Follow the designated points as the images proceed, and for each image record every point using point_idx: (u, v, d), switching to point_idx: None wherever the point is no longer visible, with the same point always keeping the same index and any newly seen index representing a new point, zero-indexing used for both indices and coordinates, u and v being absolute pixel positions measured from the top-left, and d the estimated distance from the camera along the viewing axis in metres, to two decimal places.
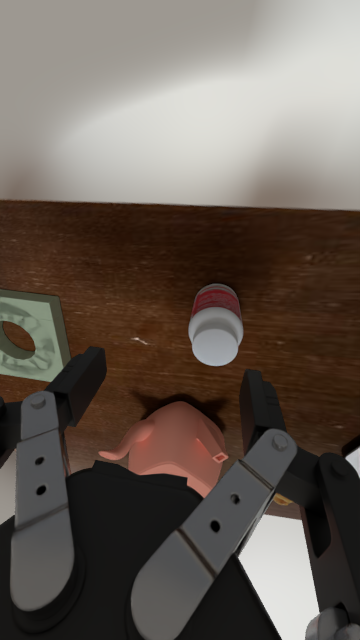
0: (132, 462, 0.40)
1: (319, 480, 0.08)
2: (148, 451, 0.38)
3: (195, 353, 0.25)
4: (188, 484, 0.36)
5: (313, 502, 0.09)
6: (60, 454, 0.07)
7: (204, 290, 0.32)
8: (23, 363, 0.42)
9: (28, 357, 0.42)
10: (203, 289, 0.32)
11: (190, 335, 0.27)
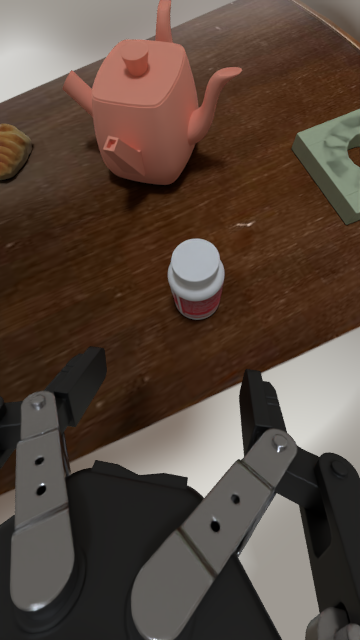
0: (191, 78, 0.33)
1: (319, 480, 0.08)
2: (183, 104, 0.31)
3: (209, 243, 0.24)
4: (122, 88, 0.30)
5: (313, 502, 0.09)
6: (60, 454, 0.07)
7: (217, 305, 0.32)
8: (353, 131, 0.36)
9: (350, 141, 0.37)
10: None
11: None
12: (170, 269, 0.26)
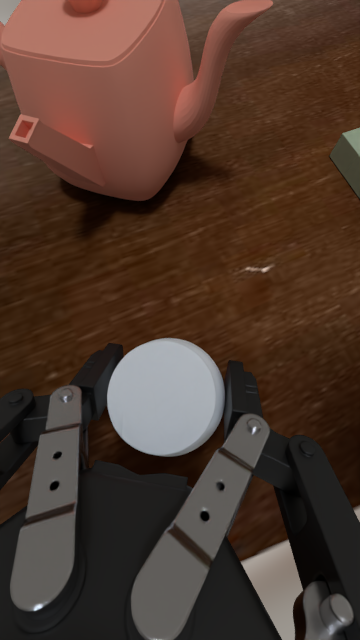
0: (181, 31, 0.20)
1: (288, 459, 0.09)
2: (165, 70, 0.18)
3: (195, 357, 0.11)
4: (55, 32, 0.16)
5: (284, 481, 0.09)
6: (77, 452, 0.08)
7: None
8: None
9: None
10: None
11: (213, 367, 0.13)
12: None
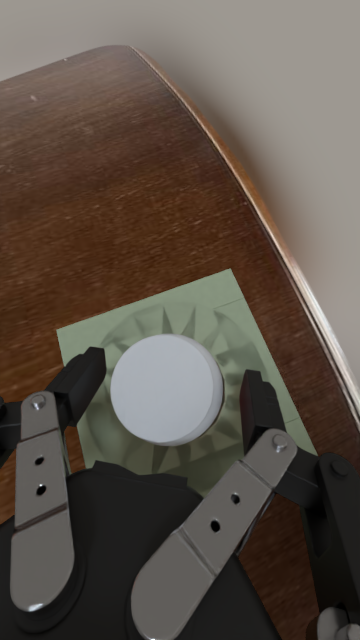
0: None
1: (319, 480, 0.08)
2: None
3: (193, 350, 0.11)
4: None
5: (313, 502, 0.09)
6: (60, 454, 0.07)
7: None
8: None
9: None
10: None
11: (211, 361, 0.13)
12: None
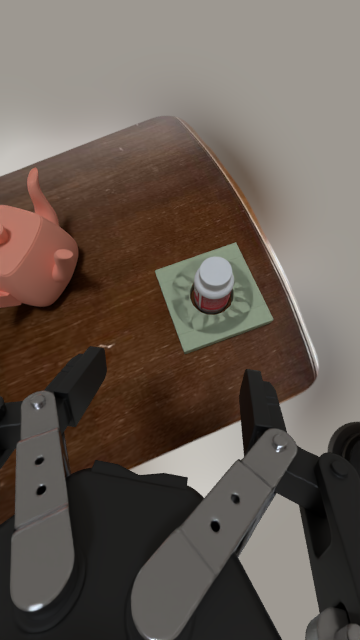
0: (52, 237, 0.40)
1: (319, 480, 0.08)
2: (41, 262, 0.39)
3: (225, 260, 0.35)
4: None
5: (313, 502, 0.09)
6: (60, 454, 0.07)
7: (226, 303, 0.43)
8: None
9: None
10: (226, 303, 0.43)
11: None
12: (196, 276, 0.37)
